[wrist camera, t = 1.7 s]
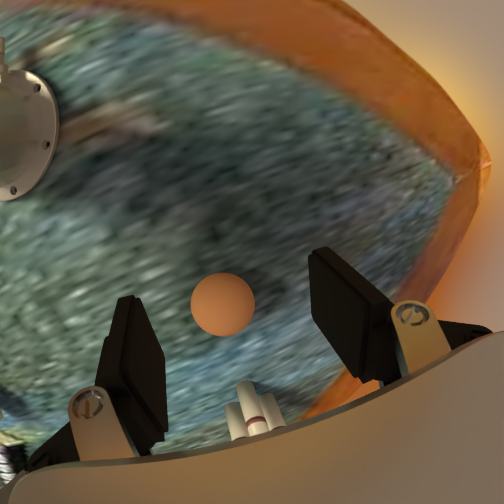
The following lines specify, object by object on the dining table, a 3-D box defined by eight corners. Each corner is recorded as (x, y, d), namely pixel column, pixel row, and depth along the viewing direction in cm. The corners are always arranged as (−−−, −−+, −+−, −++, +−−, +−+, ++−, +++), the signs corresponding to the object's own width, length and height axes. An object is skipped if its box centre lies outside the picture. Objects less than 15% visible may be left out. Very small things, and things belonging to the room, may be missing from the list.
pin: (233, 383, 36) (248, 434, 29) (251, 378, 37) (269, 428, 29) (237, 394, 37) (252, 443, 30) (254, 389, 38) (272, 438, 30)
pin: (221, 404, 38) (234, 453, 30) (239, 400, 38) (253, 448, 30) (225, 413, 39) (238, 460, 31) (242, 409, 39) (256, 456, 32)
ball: (182, 270, 29) (184, 303, 23) (241, 255, 29) (257, 284, 24) (197, 318, 31) (203, 355, 26) (250, 304, 32) (266, 339, 27)
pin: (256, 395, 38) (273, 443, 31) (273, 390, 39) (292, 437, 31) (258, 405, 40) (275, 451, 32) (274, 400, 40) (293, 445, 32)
